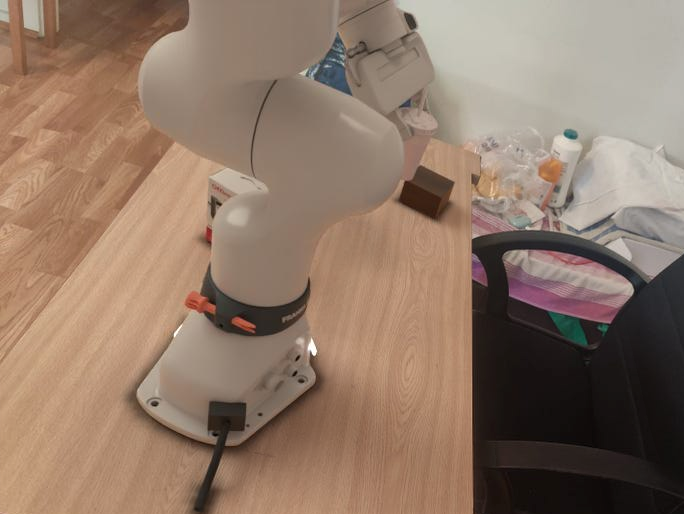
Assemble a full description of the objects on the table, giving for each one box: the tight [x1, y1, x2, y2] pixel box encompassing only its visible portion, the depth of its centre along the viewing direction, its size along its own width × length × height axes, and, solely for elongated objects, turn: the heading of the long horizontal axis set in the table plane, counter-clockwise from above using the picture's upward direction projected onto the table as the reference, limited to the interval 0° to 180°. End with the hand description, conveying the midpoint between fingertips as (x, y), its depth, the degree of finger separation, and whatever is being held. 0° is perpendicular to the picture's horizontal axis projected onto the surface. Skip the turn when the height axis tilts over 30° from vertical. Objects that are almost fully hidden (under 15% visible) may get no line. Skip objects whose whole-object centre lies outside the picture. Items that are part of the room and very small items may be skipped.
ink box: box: [205, 167, 268, 244], centre depth 91 cm, size 9×5×12 cm, turn 65°
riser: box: [398, 164, 456, 220], centre depth 121 cm, size 8×8×5 cm
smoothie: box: [399, 87, 439, 181], centre depth 92 cm, size 6×6×14 cm
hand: (418, 130), depth 91 cm, fingers closed on smoothie, 6 cm apart
